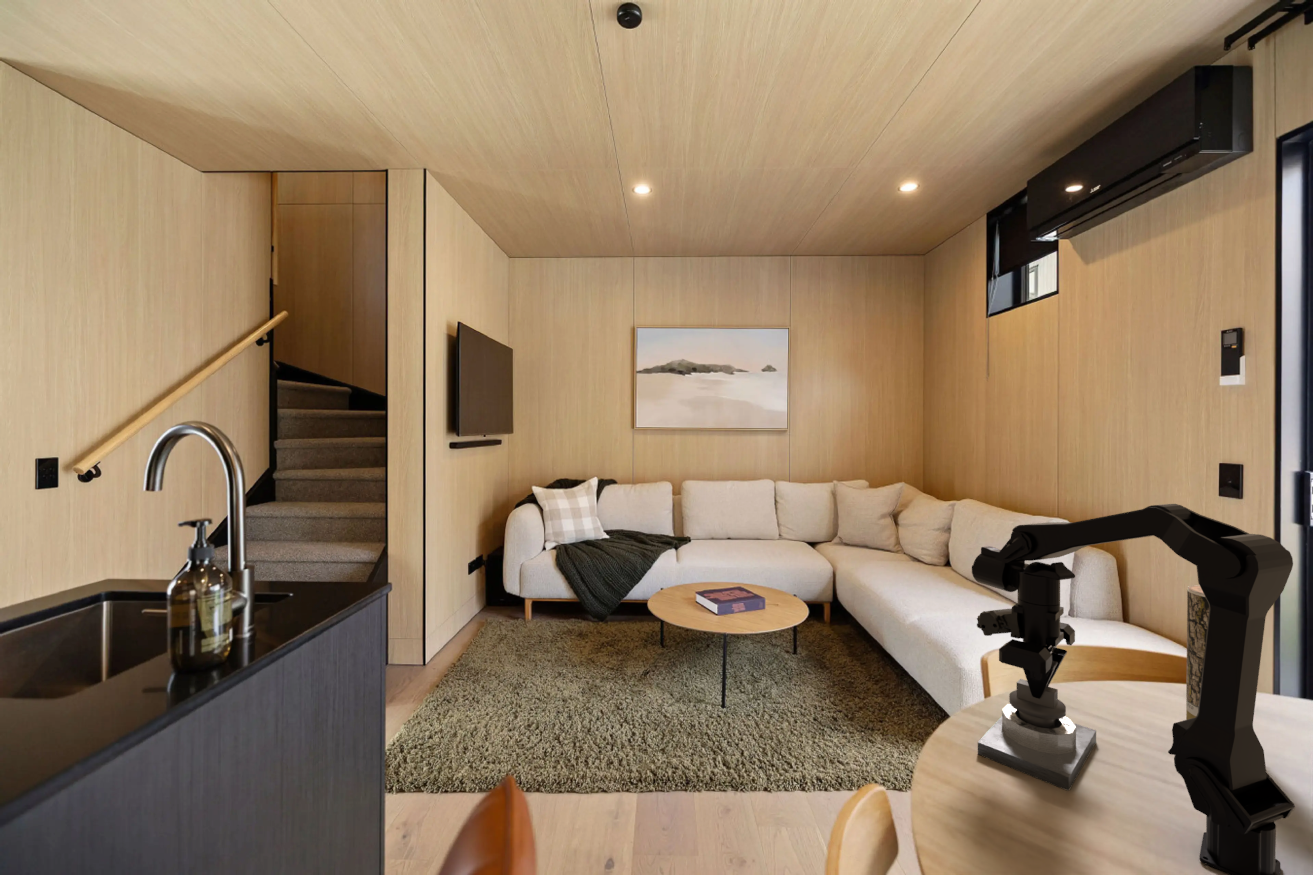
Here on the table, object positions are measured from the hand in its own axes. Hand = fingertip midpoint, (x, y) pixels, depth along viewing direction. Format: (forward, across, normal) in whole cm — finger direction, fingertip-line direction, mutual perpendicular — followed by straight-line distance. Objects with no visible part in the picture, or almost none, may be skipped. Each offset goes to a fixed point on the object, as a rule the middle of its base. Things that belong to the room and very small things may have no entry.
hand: (1038, 694), depth 90 cm
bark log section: (+9, -24, +19) cm, 32 cm away
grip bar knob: (+5, 0, 0) cm, 5 cm away
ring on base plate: (+9, 0, 0) cm, 9 cm away
